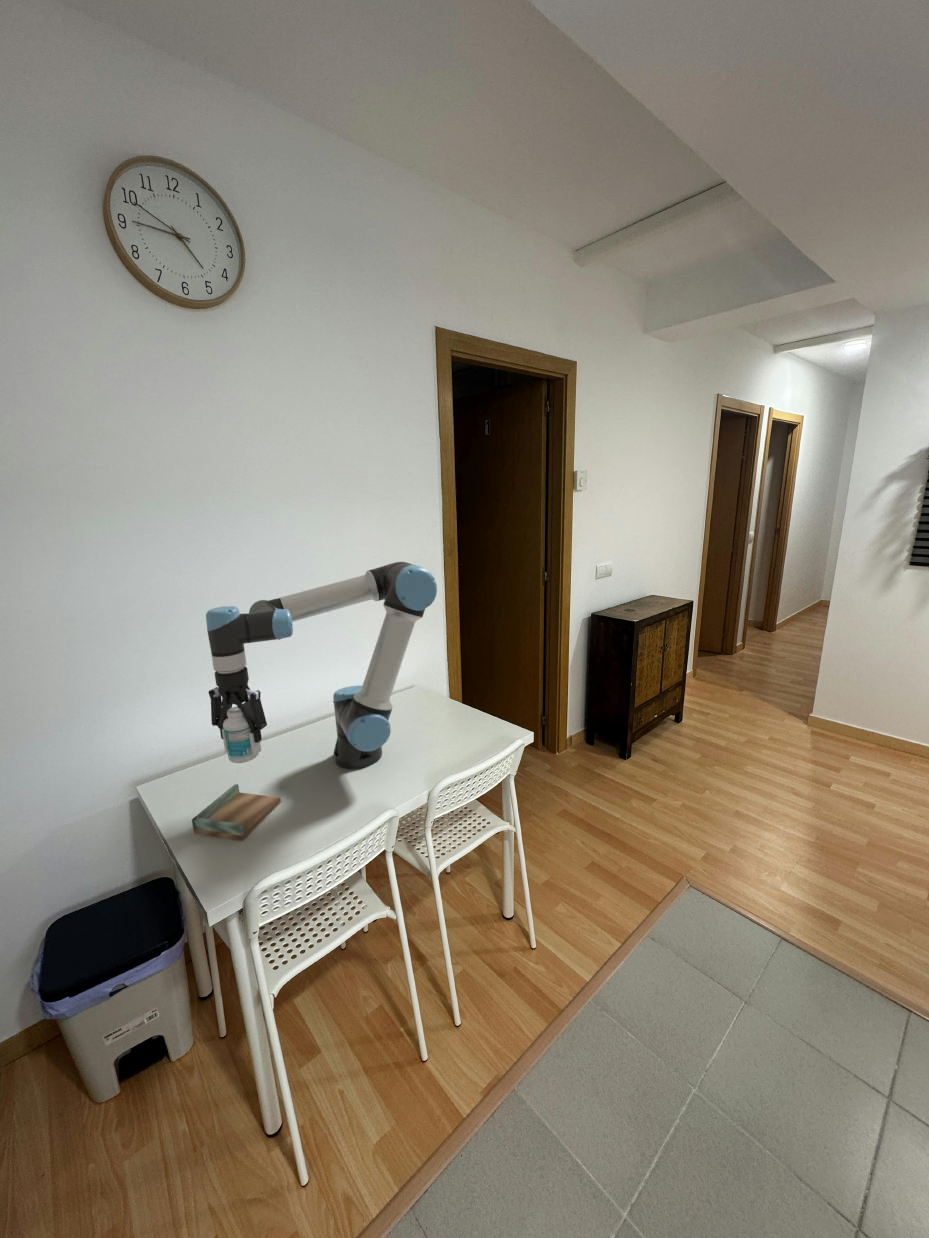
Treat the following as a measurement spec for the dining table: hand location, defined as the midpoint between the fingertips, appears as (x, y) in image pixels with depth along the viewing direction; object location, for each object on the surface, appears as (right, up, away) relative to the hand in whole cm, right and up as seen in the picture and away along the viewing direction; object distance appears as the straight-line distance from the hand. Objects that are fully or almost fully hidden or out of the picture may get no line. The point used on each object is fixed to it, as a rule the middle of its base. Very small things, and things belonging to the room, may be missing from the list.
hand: (243, 751), depth 130 cm
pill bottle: (0, -2, 0) cm, 2 cm away
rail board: (-1, -17, 0) cm, 17 cm away
